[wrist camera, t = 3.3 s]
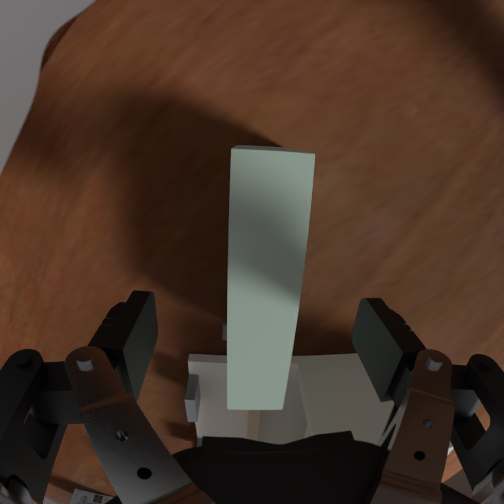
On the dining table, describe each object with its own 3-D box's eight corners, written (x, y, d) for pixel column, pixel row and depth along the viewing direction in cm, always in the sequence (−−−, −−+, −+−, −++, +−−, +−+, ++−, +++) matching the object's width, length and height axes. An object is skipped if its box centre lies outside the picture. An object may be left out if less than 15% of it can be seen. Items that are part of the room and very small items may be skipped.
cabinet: (398, 349, 25) (455, 445, 14) (355, 444, 31) (379, 521, 20) (189, 353, 24) (165, 477, 13) (201, 450, 30) (194, 537, 19)
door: (283, 147, 19) (315, 154, 10) (270, 321, 23) (282, 409, 15) (230, 144, 19) (219, 148, 10) (226, 320, 23) (219, 408, 15)
